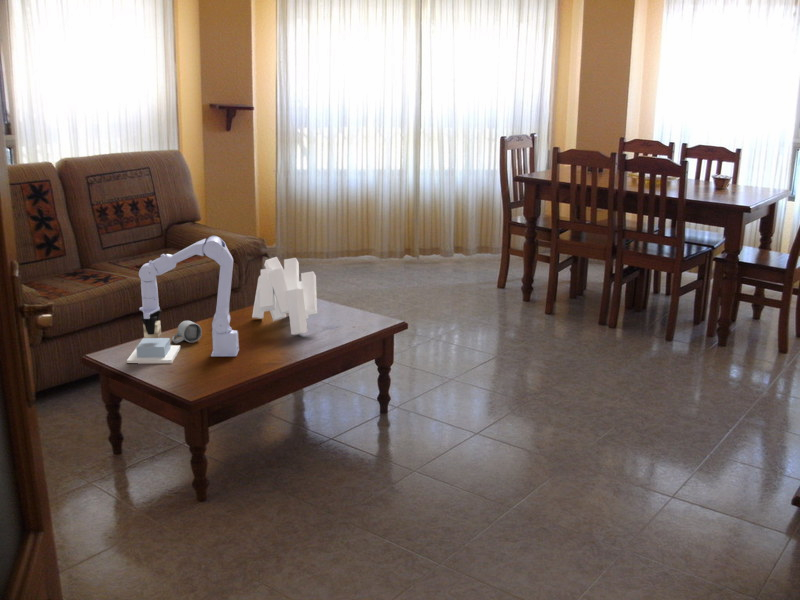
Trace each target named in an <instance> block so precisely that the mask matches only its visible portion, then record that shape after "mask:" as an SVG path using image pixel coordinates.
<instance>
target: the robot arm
mask: <svg viewBox="0 0 800 600" xmlns="http://www.w3.org/2000/svg"><path fill="white" fill-rule="evenodd" d="M195 255H197V256H201V257H204V256H206V257H208V258H210V259H212V260H214V261H215V262H216V263H217V264H218V265H219V276H218V277H219V278H218V285H217V286H218V288H217V297H216V298H217V300H216V308H215V313H214V315H213V319H212V322H211V328H212V329H211V337H212V352H211V354H210V357H212V358H213V357H237V356H238V353H239V351H240V343H239V331H238V330H236V329H235V330H234V329H232V327H231V326H230V325H231V324H230V323H231V320H232V318H231V317H232V316H231V315H230V299H231V290H232V278H233V270H234V269H233V268H234V258H233V256H232V254H231V252H230V250H229V249H228V247H227V244H226V242H225V241H224V240H223V239H222V238H221V237H219V236H217V235H211V236H209V237H208V238H203V239H200V240H199V241H196V242H195V243H193V244H192V243H191V245H189V246H187V247H185V248H183V249H182V250H179V251H177V252H176V253H174V254H170V253H166V254H165V253H162V254H160V257H157V258H155V259H154V260H149V261H148V262H146V263H144V264H143V265H142V266H141V267H140V269H139V271H138V277H139V279H140V290H141V291H140V292H141V303H142V306H141V307H139V311H141V312H142V313H143V315H141V316H140V320H141V322H142V323H143V325H145V327H146V330H147V333H148V335H152V334H154V331H155V322H156V321H160V320H159V319H160V316H161V313H162V311H163V310H162V309H161V308H160V306H159V305H160V303H159V301H160V300H159V291H158V290H159V289H158V282H157V276H161V275H163V274H165V273H167V272H169V271H172V270H174V269H175V268H176V266H177V264H178V263H181V262H182V261H185V260H186V259H188V258H191V257H193V256H195Z"/></svg>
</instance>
